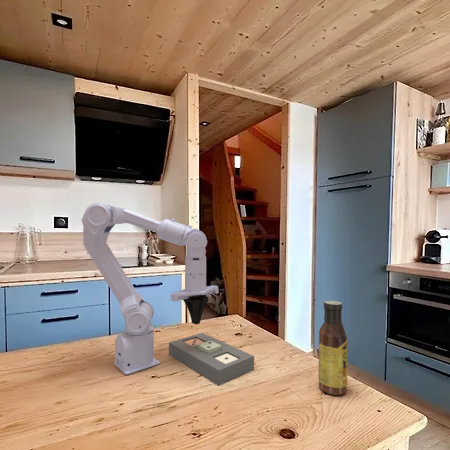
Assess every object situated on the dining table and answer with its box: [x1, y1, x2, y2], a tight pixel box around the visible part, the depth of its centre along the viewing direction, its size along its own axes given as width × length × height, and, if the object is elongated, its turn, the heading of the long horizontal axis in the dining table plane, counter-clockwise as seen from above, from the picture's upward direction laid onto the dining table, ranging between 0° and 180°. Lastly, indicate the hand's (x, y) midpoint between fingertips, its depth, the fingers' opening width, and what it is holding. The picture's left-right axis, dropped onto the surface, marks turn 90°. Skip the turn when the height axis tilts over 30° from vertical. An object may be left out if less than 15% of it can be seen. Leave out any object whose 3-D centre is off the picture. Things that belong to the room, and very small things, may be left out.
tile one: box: [215, 353, 238, 364], centre depth 78 cm, size 5×5×2 cm
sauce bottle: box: [317, 300, 348, 396], centre depth 70 cm, size 7×6×20 cm
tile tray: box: [168, 332, 255, 386], centre depth 83 cm, size 12×22×4 cm, turn 42°
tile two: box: [198, 341, 221, 354], centre depth 83 cm, size 5×5×2 cm
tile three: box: [184, 338, 204, 346], centre depth 89 cm, size 5×5×2 cm
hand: (195, 323), depth 83 cm, fingers closed
